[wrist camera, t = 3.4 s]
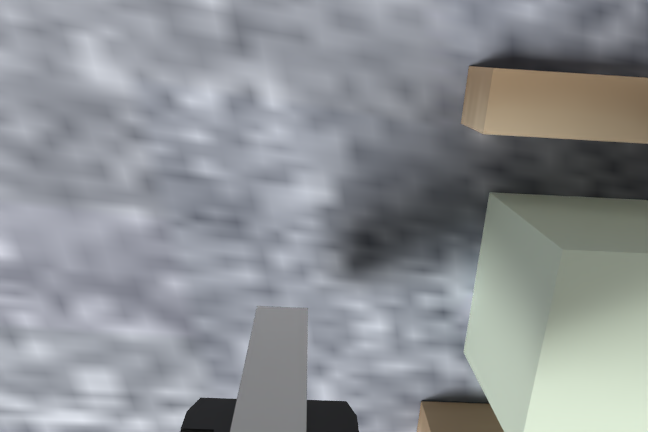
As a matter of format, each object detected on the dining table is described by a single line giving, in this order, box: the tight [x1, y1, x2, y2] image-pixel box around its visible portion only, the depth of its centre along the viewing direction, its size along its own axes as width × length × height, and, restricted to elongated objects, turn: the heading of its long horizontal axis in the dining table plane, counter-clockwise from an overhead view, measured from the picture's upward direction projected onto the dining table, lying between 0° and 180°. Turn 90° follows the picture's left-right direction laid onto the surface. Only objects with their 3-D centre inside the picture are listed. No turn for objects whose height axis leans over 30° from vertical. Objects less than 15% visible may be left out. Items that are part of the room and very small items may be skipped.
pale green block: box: [464, 192, 648, 432], centre depth 18 cm, size 7×7×6 cm
